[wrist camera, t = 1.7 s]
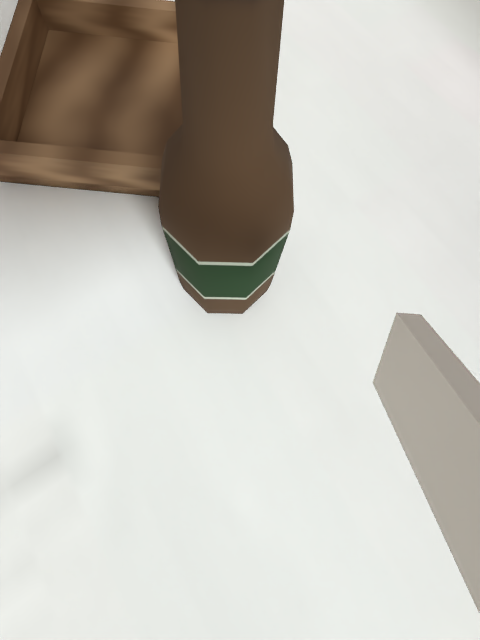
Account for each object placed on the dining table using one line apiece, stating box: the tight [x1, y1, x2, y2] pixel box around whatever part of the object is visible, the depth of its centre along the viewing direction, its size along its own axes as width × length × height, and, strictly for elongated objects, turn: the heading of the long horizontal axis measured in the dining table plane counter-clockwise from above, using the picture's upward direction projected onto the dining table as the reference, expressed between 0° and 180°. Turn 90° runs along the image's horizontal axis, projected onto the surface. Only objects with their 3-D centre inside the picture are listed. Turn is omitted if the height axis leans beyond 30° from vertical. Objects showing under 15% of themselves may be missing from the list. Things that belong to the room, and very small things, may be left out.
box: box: [0, 0, 183, 197], centre depth 33 cm, size 18×18×4 cm
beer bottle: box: [158, 0, 294, 314], centre depth 20 cm, size 8×8×24 cm
